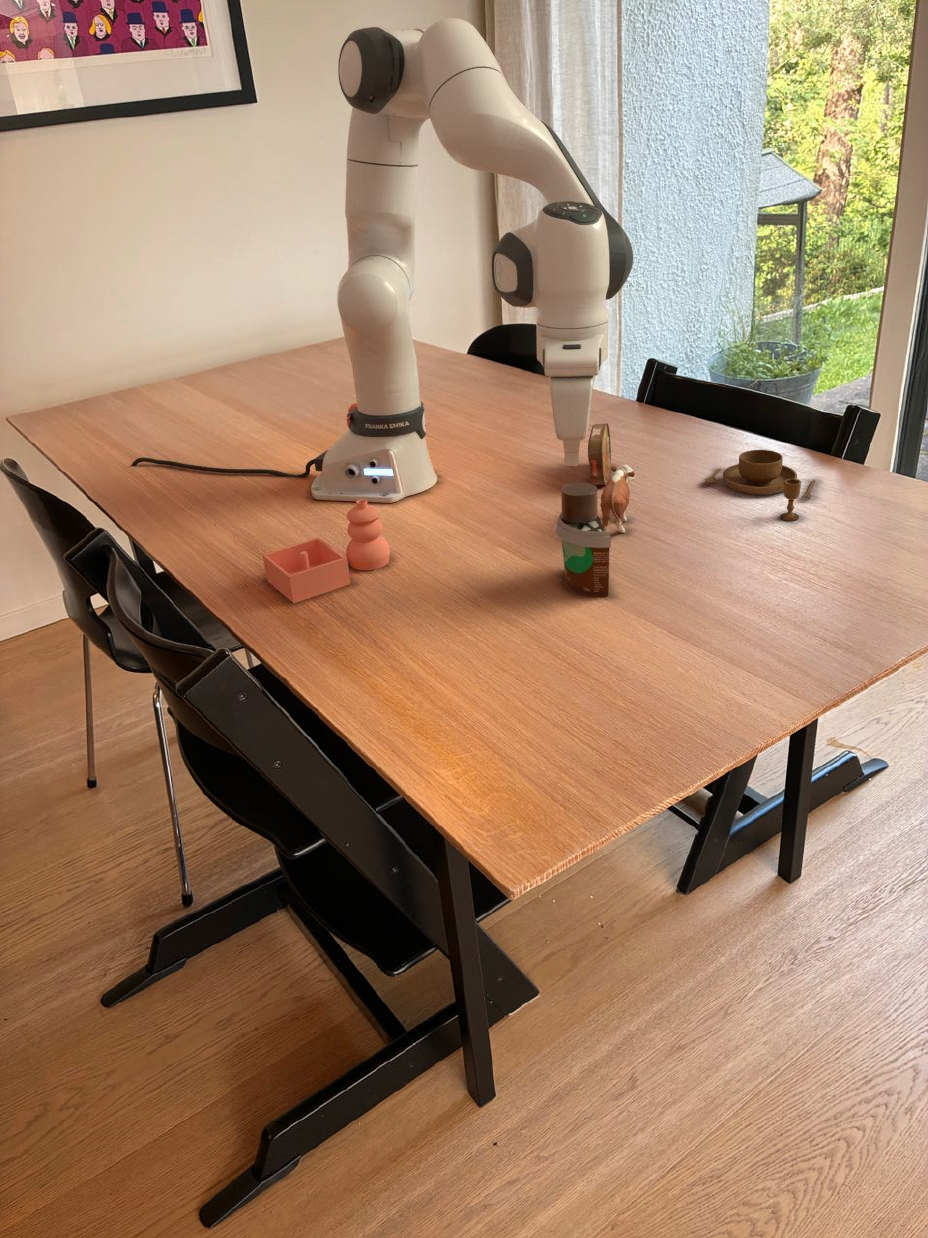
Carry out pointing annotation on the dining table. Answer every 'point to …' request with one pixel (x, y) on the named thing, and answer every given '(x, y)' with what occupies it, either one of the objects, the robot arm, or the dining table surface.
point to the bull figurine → (616, 497)
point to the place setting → (764, 478)
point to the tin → (599, 454)
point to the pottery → (328, 558)
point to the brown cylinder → (579, 503)
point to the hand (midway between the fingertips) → (572, 451)
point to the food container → (585, 556)
